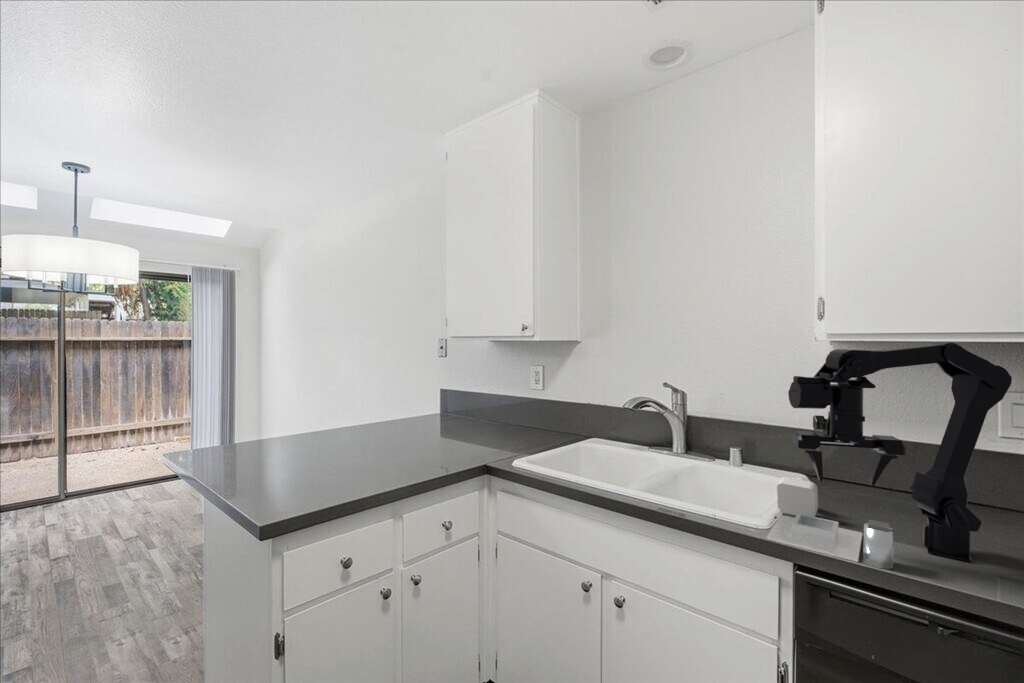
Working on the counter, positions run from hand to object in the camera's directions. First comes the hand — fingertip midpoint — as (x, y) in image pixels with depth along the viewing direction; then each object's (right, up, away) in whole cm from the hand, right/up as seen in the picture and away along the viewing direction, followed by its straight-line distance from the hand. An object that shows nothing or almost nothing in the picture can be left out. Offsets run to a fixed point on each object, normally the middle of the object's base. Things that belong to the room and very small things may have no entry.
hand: (845, 483), depth 99 cm
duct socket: (-4, -13, +4) cm, 14 cm away
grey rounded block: (+2, -13, +20) cm, 24 cm away
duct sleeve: (+1, -13, -7) cm, 15 cm away
